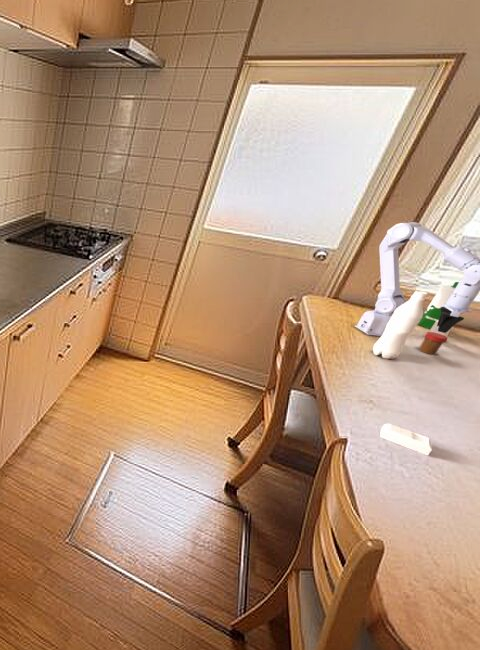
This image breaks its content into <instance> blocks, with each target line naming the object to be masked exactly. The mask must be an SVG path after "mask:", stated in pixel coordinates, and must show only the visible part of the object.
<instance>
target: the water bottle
mask: <svg viewBox="0 0 480 650" xmlns="http://www.w3.org/2000/svg"><path fill="white" fill-rule="evenodd" d="M427 295H428V292H426V291H423V290H415V291H414V292H413V294H412V295H411V296H410V298H409V299H408V300H406V303H404V304H402V305H401V306H399V307H398V308H397V309H396V310H395V311H394V313H393V315H392V317H391V318H390V320H389V322H388V323H387V326H386V328H385V331H384V333H383V334H382V336H379V339H378V340H377V341H376V342H375V343H374V344H373V348H372V349H373V350H372V351H373V355H375V356H379V355H381V358H382V359H386V360H389V359H391V360H393V359H396V358H397V357H398V356H399V355H400V353H402V349H403V348H404V344H405V342H406V341H407V339H408V338H409V337H410V335H411V334H412V333H413V332H414V330H415V329H416V327H417V326H418V324H419V322H420V320H421V319H422V316H423V315H424V309H423V302H424V301H425V299H426V297H427Z"/></svg>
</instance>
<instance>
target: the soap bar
mask: <svg viewBox="0 0 480 650" xmlns="http://www.w3.org/2000/svg"><path fill="white" fill-rule="evenodd" d="M380 438H381V439H384V440H386V441H388V442H391V443H394V444H397V445H399V446H402V447H404V448H406V449H409V450H412V451H414V452H416V453H419V454H422V455H424V456H427V457H428V456H429V455H430V453H431V452H432V450H433V449H432V448H433V447H432V441H431V439H430V438H429V437H427V436H424V435H422V434H419V433H416V432H413V431H411V430H409V429H405V428H402V427H401V426H397V425H394V424H393V423H384V424H383V426H382V427H381V428H380Z"/></svg>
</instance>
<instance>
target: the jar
mask: <svg viewBox="0 0 480 650" xmlns="http://www.w3.org/2000/svg"><path fill="white" fill-rule="evenodd" d="M443 344H444V342H437V341H433V340H430V339H428V338H426V337H425V338H424V339H423V340H422V343H421V344H420V345H419V347H418V350H419V351H420V352H422V353H425V354H428V355H437V353H438V351H439V350H440V348H441V347H442V345H443Z"/></svg>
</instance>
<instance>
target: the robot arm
mask: <svg viewBox="0 0 480 650" xmlns="http://www.w3.org/2000/svg"><path fill="white" fill-rule="evenodd" d="M409 241H417V242H423V243H424V244H426V245H427V246H430V247H431V248H433V249H435V250H436V251H438V252H439V253H441V254H443V259H444V261H446V262H447V263H449V264H450V265H451V266H453V267H455V268H456V269H457V270H459V271H461V272H462V273H463V276H462V278H461V279H460V280H459V281H458V282H459V283H458V285H457V286H456V288H455V290H454V291H453V293H452V294H451V296H450V297H449V299H448V300H447V302H446V303H445V304H444V305H443V306H444V307H441V315H440V318H439V321H438V324H437V326H439V327H438V331H439V332H443V333H446V332H447V331H448V330H450V329H451V328H452V327H453V328H454V326H455V325H456V324H458V323H460V322H462V321H463V320H465V318H464V317H463V316H461V315H462V314H463V313H472V311H473V310H472V309H471V308H470V307H471V305H472V303H473V302H474V300H475V299H476V297H477V296H478V295H479V293H480V257H478V256H477V255H476V254H474V253H472V252H471V251H472V249H470V248H468V247H466V248H464V247H462V246H458V247H455V246H453V245H452V244H451V243H450V242H448V241H446V240H445V239H444V238H442V237H441V236H439V235H438V234H436V233H435V232H434V231H432V230H431V229H430V228H429V227H426V226H424V225H422V224H420V223H419V222H416V221H412V222H400V223H396V224H395V225H393V226H392V227H391V228H388V230H387V231H386V234H385V236H384V238H383V239H382V241H381V243H379V246H378V247H379V248H378V250H379V271H380V274H379V275H380V291H379V293H378V295H377V301H376V302H375V303H374V307H375V308H374V309H373V310H367V311H365V312H364V313H363V314H362V315H361V317H360V319H359V320H358V323H357V324H356V325H354V327H355V328H356V329H357V330H360V332H362V333H364V334H366V335H369V336H377V337H381V336H382V334H383V333H384V331H385V328H386V326H387V323H388V322H389V320H390V318H391V317H392V315H393V313H394V311H395V310H396V309H397V308H398V307H399V306H401V305H402V304H404V303H406V302H407V300H406V298H405V297H404V292H403V291H402V289H401V286H400V283H401V282H400V263H399V262H400V259H399V249H400V248H401V247H402V246H403V245H405V244H406V243H408V242H409ZM453 328H452V329H453ZM452 329H451V330H452Z"/></svg>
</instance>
